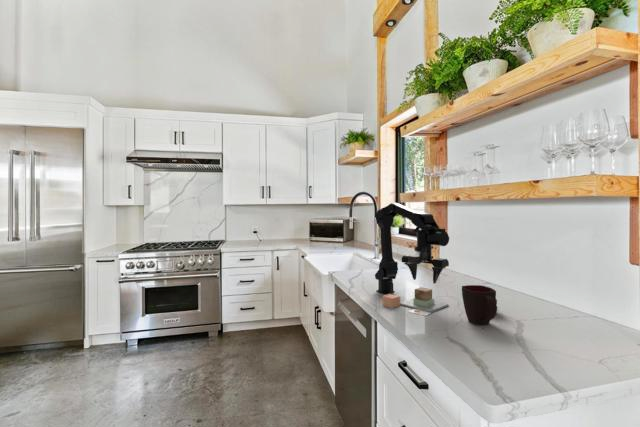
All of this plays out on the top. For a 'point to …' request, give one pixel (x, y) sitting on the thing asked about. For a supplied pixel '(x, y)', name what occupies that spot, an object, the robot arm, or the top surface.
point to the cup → (479, 304)
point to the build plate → (427, 309)
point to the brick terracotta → (391, 300)
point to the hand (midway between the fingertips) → (424, 281)
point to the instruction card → (419, 312)
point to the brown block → (423, 294)
